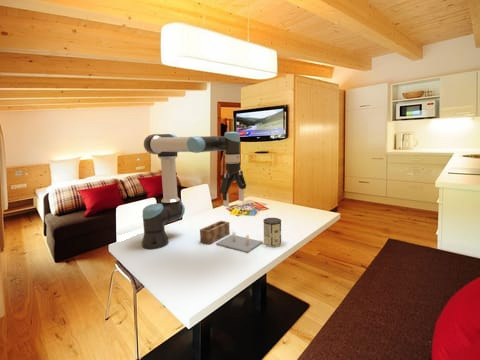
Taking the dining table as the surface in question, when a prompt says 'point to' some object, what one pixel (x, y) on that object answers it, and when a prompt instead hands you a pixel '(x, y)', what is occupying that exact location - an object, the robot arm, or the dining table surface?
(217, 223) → the wooden hollow block
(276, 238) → the coffee can
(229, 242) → the peg board
